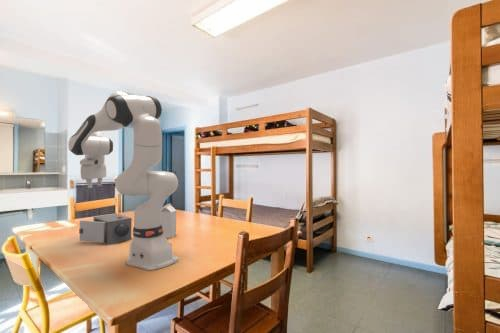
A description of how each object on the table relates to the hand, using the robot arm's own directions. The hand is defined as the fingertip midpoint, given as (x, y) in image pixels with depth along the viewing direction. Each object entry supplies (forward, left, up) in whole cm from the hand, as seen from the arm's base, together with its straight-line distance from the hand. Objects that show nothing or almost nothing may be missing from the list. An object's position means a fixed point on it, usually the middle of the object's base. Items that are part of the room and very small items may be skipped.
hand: (94, 186), depth 126 cm
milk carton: (-22, -31, -30) cm, 48 cm away
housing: (-2, -9, -30) cm, 31 cm away
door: (-2, +2, -29) cm, 29 cm away
